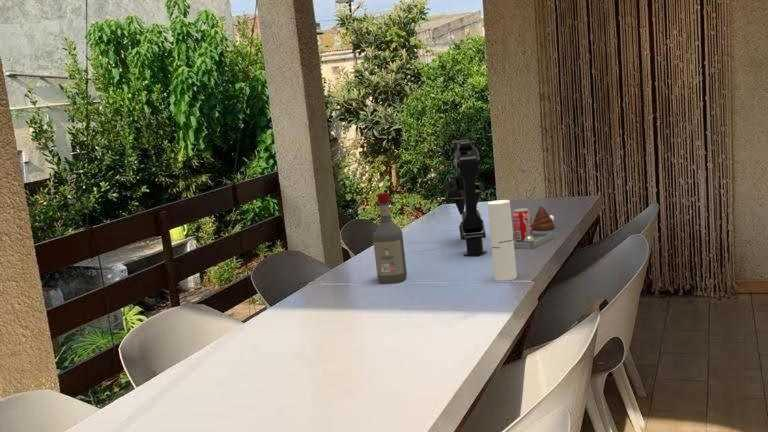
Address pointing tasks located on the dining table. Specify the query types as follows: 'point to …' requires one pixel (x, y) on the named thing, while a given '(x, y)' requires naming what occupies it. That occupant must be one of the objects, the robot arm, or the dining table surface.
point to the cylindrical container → (502, 240)
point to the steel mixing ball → (529, 239)
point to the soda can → (522, 224)
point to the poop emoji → (543, 220)
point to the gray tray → (538, 240)
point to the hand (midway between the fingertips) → (467, 212)
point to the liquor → (388, 246)
